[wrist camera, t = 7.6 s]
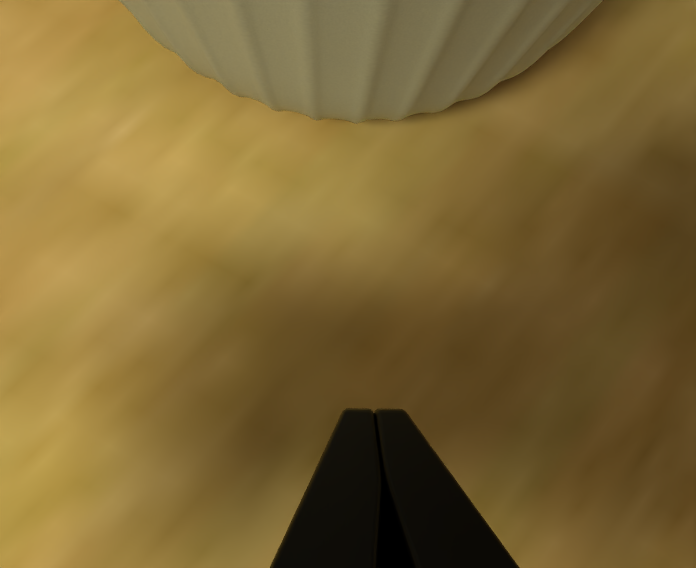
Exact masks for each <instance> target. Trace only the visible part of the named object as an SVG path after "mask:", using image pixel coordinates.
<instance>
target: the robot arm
mask: <svg viewBox="0 0 696 568" xmlns="http://www.w3.org/2000/svg"><path fill="white" fill-rule="evenodd" d="M270 568H519V566H518V565H517V564H516V562H515V561H514V560H513V558H512V557H511V556H510V554H509V553H508V551H507V550H506V549H505V547H504V546H503V545H502V543H501V542H500V540H499V539H498V538H497V536H496V535H495V534H494V532H493V531H492V529H491V528H490V527H489V525H488V524H487V523H486V521H485V520H484V518H483V517H482V516H481V514H480V513H479V512H478V510H477V509H476V507H475V506H474V505H473V503H472V502H471V501H470V499H469V498H468V496H467V495H466V494H465V492H464V491H463V490H462V488H461V487H460V485H459V484H458V483H457V481H456V480H455V479H454V477H453V476H452V474H451V473H450V472H449V470H448V469H447V468H446V466H445V465H444V463H443V462H442V461H441V459H440V458H439V457H438V455H437V454H436V452H435V451H434V450H433V448H432V447H431V446H430V444H429V443H428V441H427V440H426V439H425V437H424V436H423V435H422V433H421V432H420V430H419V429H418V428H417V426H416V425H415V424H414V422H413V421H412V419H411V418H410V417H409V415H408V414H407V413H406V412H405V411H404V410H402V409H377V410H376V411H375V412H374V413H373V411H372V410H371V409H367V408H347V409H345V410H344V411H343V412H342V413H341V415H340V418H339V420H338V422H337V424H336V426H335V428H334V431H333V433H332V435H331V437H330V439H329V441H328V443H327V446H326V448H325V450H324V452H323V454H322V456H321V459H320V461H319V463H318V465H317V467H316V469H315V471H314V474H313V476H312V478H311V480H310V482H309V484H308V487H307V489H306V491H305V493H304V495H303V497H302V499H301V502H300V504H299V506H298V508H297V510H296V512H295V514H294V517H293V519H292V521H291V523H290V525H289V527H288V530H287V532H286V534H285V536H284V538H283V540H282V542H281V545H280V547H279V549H278V551H277V553H276V555H275V558H274V560H273V562H272V564H271V566H270Z"/></svg>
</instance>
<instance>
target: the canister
mask: <svg viewBox="0 0 696 568" xmlns="http://www.w3.org/2000/svg"><path fill="white" fill-rule="evenodd" d="M119 1H120V2H121V3H122V4H123V5H124V6H125V7H126V8H127V9H128V10H129V11H130V12H131V13H132V14H133V15H134V17H135V18H136V19H137V20H138V22H139V23H140V24H141V25H142V27H143V28H144V29H145V30H146V31H147V32H148V33H149V34H150V35H151V36H152V37H153V38H154V39H155V40H156V41H157V42H158V43H160V44H161V45H162V46H164V47H165V48H167V49H169V50H171V51H173V52H175V53H177V54H178V56H179V57H180V58H181V59H182V60H183V61H184V62H185V63H186V65H187V66H188V67H189V68H191V69H192V70H193V71H195V72H196V73H197V74H200V75H202V76H204V77H207V78H212V79H214V80H216V81H218V82H220V83H221V84H222V85H223V86H224V87H225V88H226V89H227V90H229V91H230V92H231V93H232V94H234V95H237V96H239V97H248V98H252V99H255V100H258V101H260V102H262V103H264V104H266V105H267V106H269V107H270V108H271V109H273V110H275V111H293V112H297V113H301V114H304V115H307V116H309V117H310V118H312V119H314V120H321V119H341V120H347V121H351V122H353V123H356V124H357V123H360V122H363V121H365V120H371V119H388V120H391V121H399V120H402V119H404V118H405V117H407V116H410V115H413V114H418V113H425V112H428V113H436V112H441V111H443V110H444V109H446V108H448V107H449V106H451V105H452V104H453V103H455V102H458V101H460V100H469V99H473V98H477V97H479V96H481V95H483V94H485V93H487V92H488V91H489V90H491V89H492V88H493V87H494V86H495V85H497V84H498V83H499V82H500V81H503V80H507V79H510V78H512V77H514V76H516V75H518V74H520V73H521V72H523V71H524V70H526V69H527V68H528V67H530V66H531V65H532V64H533V63H535V62H536V61H537V60H538V59H539V58H540V57H541V56H542V55H543V54H544V53H545V52H546V51H547V50H548V49H550V48H552V47H553V46H555V45H556V44H557V43H559V42H560V41H561V40H562V39H564V38H565V37H566V36H567V35H568V34H569V33H570V32H572V31H573V30H574V29H575V28H576V27H577V26H578V25H579V24H580V23H581V22H582V21H583V20H584V19H585V18H586V17H587V16H588V15H589V14H590V13H591V12H592V11H593V10H594V9H595V8H596V7H597V6H598V5H599V4H600V3H601V2H602V1H603V0H119Z"/></svg>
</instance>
